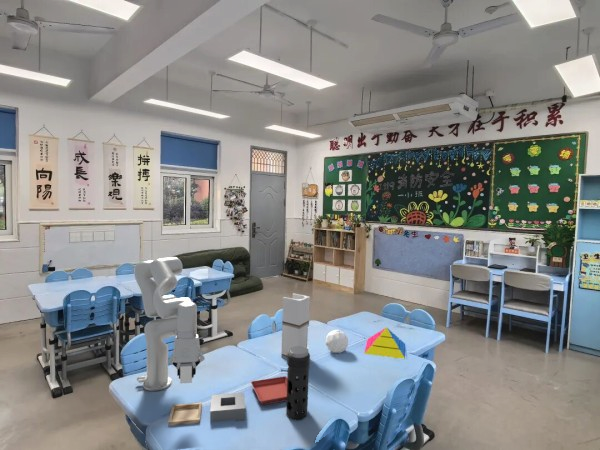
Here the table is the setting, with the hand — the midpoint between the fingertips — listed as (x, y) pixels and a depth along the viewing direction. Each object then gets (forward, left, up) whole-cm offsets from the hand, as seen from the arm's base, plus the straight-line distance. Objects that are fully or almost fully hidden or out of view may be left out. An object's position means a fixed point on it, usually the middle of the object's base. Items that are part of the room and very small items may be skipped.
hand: (186, 376), depth 147 cm
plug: (0, 0, -2) cm, 2 cm away
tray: (0, 0, -17) cm, 17 cm away
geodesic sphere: (+81, +52, -18) cm, 98 cm away
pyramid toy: (+113, +52, -18) cm, 126 cm away
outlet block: (+17, 0, -17) cm, 24 cm away
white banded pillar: (+55, +49, -17) cm, 76 cm away
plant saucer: (+38, +12, -18) cm, 44 cm away
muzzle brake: (+46, -5, -17) cm, 49 cm away
